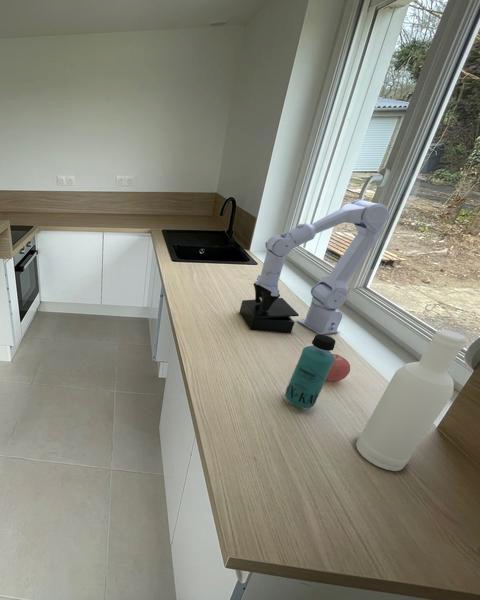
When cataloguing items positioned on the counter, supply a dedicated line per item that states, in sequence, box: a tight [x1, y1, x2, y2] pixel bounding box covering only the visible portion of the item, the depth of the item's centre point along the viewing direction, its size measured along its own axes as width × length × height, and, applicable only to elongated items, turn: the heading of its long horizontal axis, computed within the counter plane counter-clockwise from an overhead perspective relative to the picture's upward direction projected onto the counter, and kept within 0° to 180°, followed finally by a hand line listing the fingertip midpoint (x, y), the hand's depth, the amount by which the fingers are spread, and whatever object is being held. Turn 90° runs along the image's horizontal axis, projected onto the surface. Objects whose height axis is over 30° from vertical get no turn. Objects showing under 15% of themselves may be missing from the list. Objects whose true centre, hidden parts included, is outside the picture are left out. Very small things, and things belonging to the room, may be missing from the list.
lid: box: [241, 295, 300, 318], centre depth 115 cm, size 14×13×4 cm
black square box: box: [238, 301, 296, 334], centre depth 118 cm, size 13×13×5 cm
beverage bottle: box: [284, 333, 336, 410], centre depth 77 cm, size 6×7×20 cm
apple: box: [325, 353, 351, 382], centre depth 89 cm, size 7×7×8 cm
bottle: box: [355, 329, 468, 472], centre depth 61 cm, size 8×8×30 cm
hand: (261, 306), depth 116 cm, fingers closed on lid, 5 cm apart
